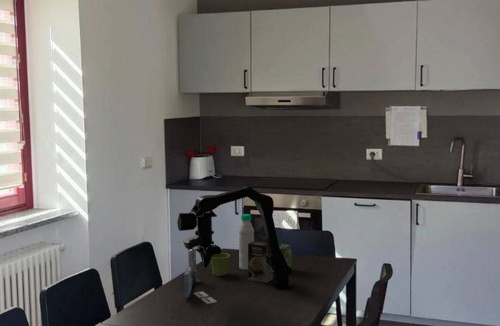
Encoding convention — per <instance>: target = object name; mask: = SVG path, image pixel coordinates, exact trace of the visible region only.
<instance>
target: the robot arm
mask: <svg viewBox="0 0 500 326" xmlns="http://www.w3.org/2000/svg"><path fill="white" fill-rule="evenodd" d="M245 198H248V199H250V200H251V201H253V202H254V204H255V207H256V209H257V212H258V213H259V215H260V217H261V221H262V225H263V229H264V234H265V238H266V239H265V240H266V243H267V245H268V253H265V257H266V263H268V265H269V266H270V267H271V268H272V270H274V273H273V277H274V278H273V279H274V283H271V287H273V288H275V289H277V290H283V289H290V288H292V285H290V283H289V281H290V279H289V277H290V275H291V274H292V271H293V268H292V269H291V268H290V267H289V266H288V265H287V264H286V260H285V257H284V255H283V253H282V252H281V250H280V248H279V241H278V239H277V238H278V234H277V231H276V226H275V220H274V217H273V216H274V215H273V214H274V209H275V207H274V206H275V205H274V204H275V203H274V198H273V197H272V196H271V195H268V194H265V193H261V192H259V191H257V190H255V189H254V188H253V187H251V186H248V185H243V186H242V187H239V188H236V189H232V190H229V191H225V192H222V193H219V194H207V195H206V194H205V195H200V196H198V197H196V199H195V202H194V205H193V207H192V209H191V210H190V211H189V212H179V213H178V218H177V223H176V224H177V230H178V231H180V232H181V231H184V232H185V231H193V230H195V229H196V228H197V229H196V230H195V231H194V235H191V236H189V237H188V238H185V239H183V241H182V242H183V245H184V247H185V249H187V251H188V250H191V249H195V250H196V253H197V252H198V254H199V255H200V259H201V262H202V266H203V268H205V269H206V268H208V267H209V264H210V262H211V258H212V256H213V255H214V254H221V253H222V248H221V247H220V246H219V245H217V244H215V241H213V235H214V234H215V231H214V230H213V218H216V217H218V215H217V214H216V213H215V211H214V210H215V209H217V208H218V207H220V206H221V205H224V204H228V203H232V202H235V201H239V200H241V199H245ZM195 247H196V248H195Z"/></svg>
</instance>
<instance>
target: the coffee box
mask: <svg viewBox="0 0 500 326" xmlns="http://www.w3.org/2000/svg"><path fill="white" fill-rule="evenodd" d="M265 253H268V245H267V241H266V242H265V241H256V240H254V242H251V243H249V244H248V270H247V275H248V276H247V278H248V281H251V282H252V281H253V282H259V283H266V284H267V283H269V282H270V281H272V280H273V273H272V268H271V267H270V266H269V265H268V263H266V257H265Z"/></svg>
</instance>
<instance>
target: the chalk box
mask: <svg viewBox="0 0 500 326" xmlns="http://www.w3.org/2000/svg"><path fill="white" fill-rule="evenodd" d="M277 239H278V244H279V248H280V250H281V252H282V253H283V255H284V257H285V260H286V264H287V265H288V266H289V267H290V268H291V269H292V270H293V266H292V264H293V263H292V262H293V258H292V257H293V256H292V252H293V249H292V248H293V247H292V246H293V245H291V244H286V243H281V239H280V237H277ZM272 274H274V270H272Z"/></svg>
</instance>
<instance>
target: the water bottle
mask: <svg viewBox="0 0 500 326" xmlns="http://www.w3.org/2000/svg"><path fill="white" fill-rule="evenodd" d="M240 219H241V224H240V226H239V228H238V234H239V235H238V251H239V255H238V259H239V261H238V262H239V263H238V265H239V266H238V267H239V269H241V270H243V271H248V244H249V243H251V242H254V241H255V229H254V227H253V224H252V222H251V221H252V214H250V213H243V214H241V216H240Z"/></svg>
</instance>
